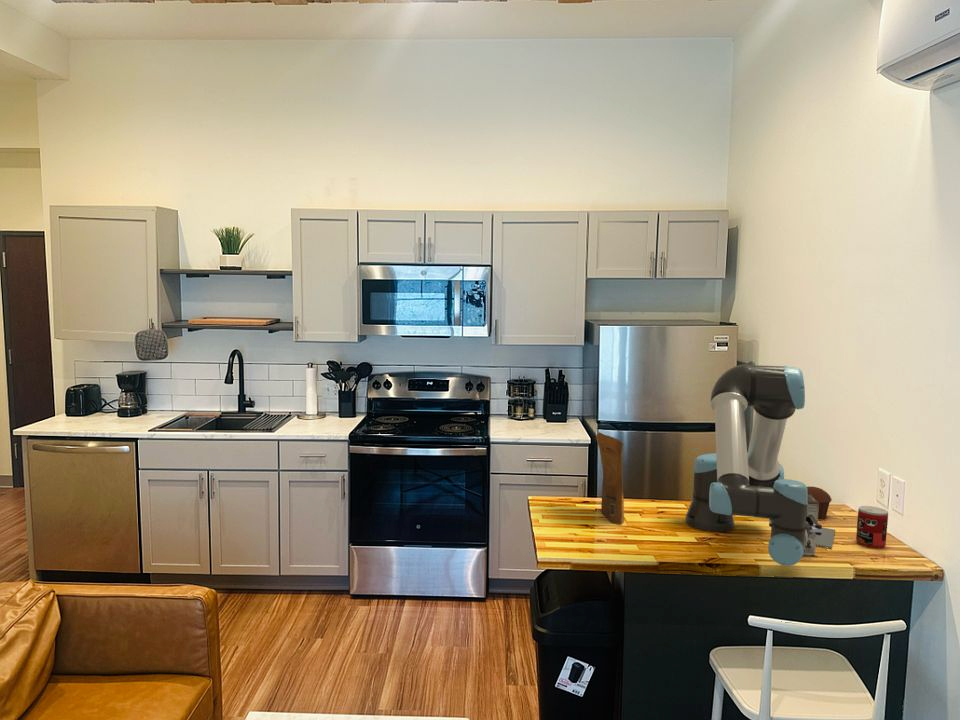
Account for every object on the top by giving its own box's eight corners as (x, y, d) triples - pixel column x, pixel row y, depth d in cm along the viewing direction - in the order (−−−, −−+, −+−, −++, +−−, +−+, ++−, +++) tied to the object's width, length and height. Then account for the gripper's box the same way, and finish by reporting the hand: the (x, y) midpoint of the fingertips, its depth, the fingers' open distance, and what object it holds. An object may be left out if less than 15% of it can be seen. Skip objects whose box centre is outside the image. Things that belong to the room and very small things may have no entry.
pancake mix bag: (609, 526, 216) (613, 441, 213) (591, 508, 235) (595, 430, 232) (629, 526, 217) (633, 441, 214) (610, 508, 236) (613, 430, 233)
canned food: (850, 540, 209) (853, 505, 208) (874, 539, 210) (877, 505, 209) (866, 549, 202) (869, 513, 201) (891, 548, 202) (894, 513, 201)
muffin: (794, 518, 230) (796, 489, 229) (791, 509, 240) (793, 482, 239) (832, 523, 226) (835, 494, 225) (828, 513, 236) (830, 485, 235)
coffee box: (785, 543, 205) (788, 492, 203) (807, 545, 203) (811, 493, 202) (792, 554, 196) (796, 500, 194) (816, 556, 195) (820, 502, 193)
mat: (774, 538, 209) (774, 536, 209) (781, 522, 225) (781, 520, 225) (831, 549, 201) (831, 547, 201) (835, 531, 217) (835, 529, 217)
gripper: (763, 542, 174) (775, 518, 194) (819, 553, 167) (825, 527, 187) (765, 514, 173) (777, 493, 193) (821, 524, 166) (827, 501, 187)
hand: (801, 510), depth 190 cm, fingers closed
